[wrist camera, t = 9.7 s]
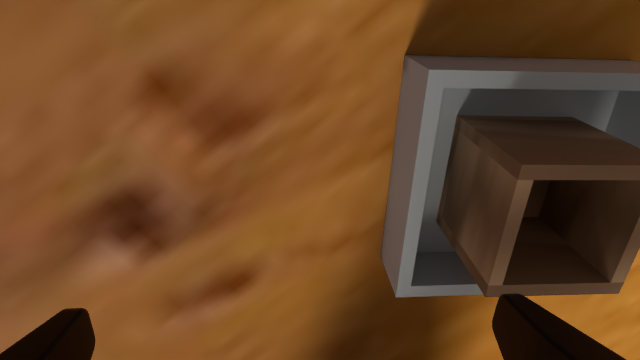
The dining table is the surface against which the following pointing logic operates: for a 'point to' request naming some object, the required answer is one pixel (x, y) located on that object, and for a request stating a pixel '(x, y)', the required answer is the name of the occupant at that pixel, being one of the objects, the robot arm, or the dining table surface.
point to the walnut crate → (541, 205)
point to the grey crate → (486, 100)
